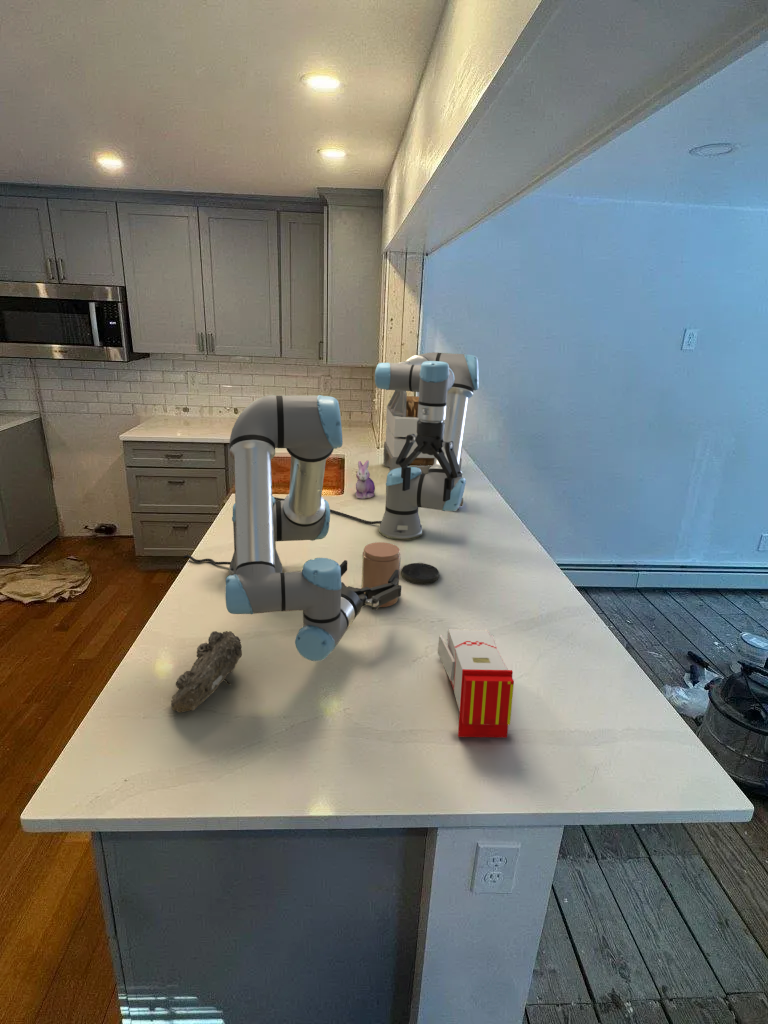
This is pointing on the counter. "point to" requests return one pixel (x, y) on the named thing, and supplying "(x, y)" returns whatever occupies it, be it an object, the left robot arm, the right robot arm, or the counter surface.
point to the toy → (478, 682)
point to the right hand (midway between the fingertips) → (425, 495)
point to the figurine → (364, 482)
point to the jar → (380, 565)
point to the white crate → (403, 430)
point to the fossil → (207, 670)
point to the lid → (420, 573)
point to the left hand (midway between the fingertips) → (371, 569)
